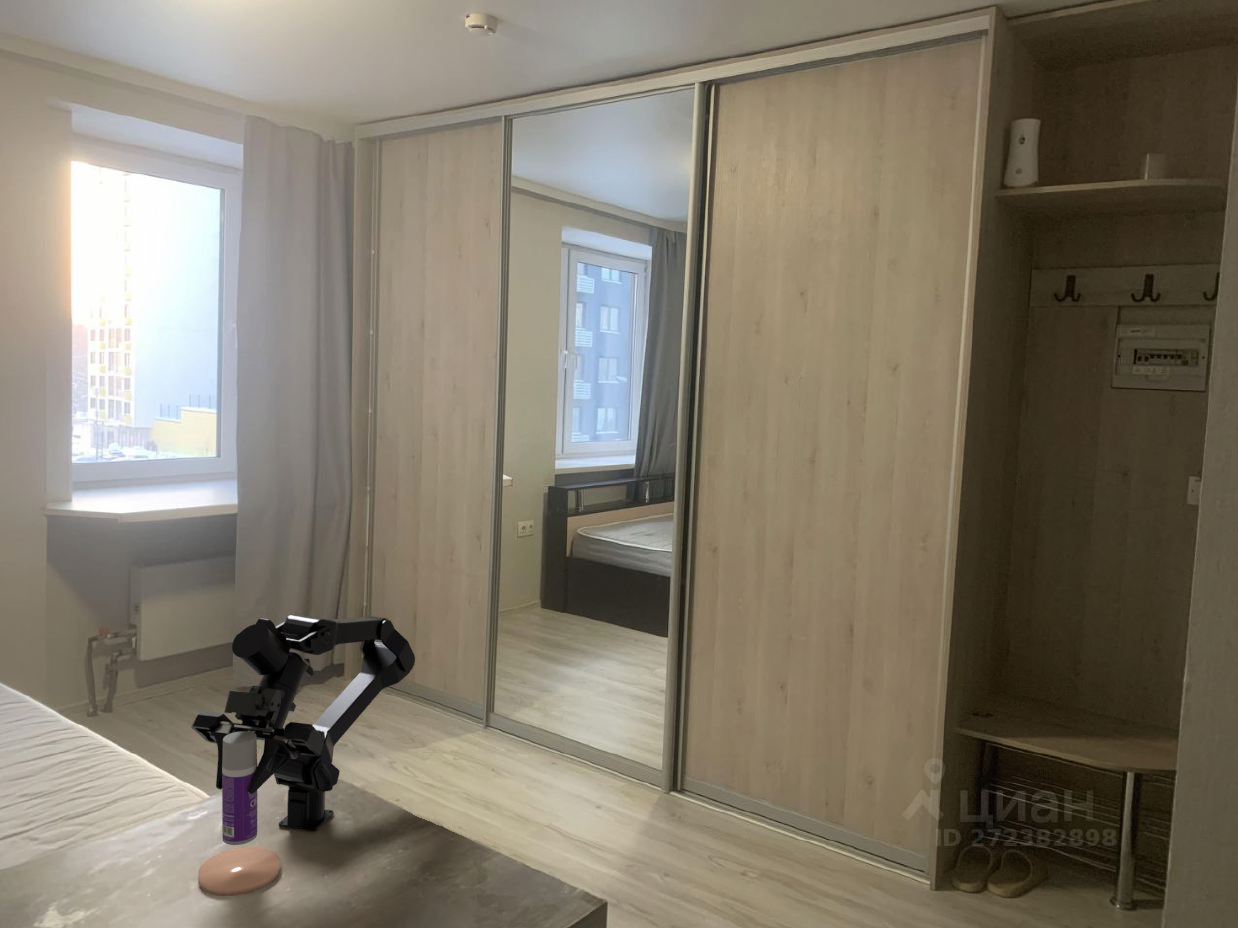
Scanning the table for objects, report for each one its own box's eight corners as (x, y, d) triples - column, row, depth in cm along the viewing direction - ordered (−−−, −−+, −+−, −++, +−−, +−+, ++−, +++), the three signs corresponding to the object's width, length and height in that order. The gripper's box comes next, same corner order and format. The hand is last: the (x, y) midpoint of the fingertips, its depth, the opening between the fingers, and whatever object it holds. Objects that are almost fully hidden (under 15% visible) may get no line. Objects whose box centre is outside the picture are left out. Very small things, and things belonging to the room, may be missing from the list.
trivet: (228, 850, 138) (228, 842, 138) (294, 859, 136) (294, 852, 136) (181, 889, 127) (181, 880, 127) (252, 900, 125) (252, 892, 125)
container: (257, 842, 130) (257, 741, 128) (221, 847, 128) (221, 745, 127) (257, 826, 134) (257, 729, 133) (223, 831, 133) (222, 732, 131)
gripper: (198, 658, 134) (147, 760, 125) (314, 671, 131) (271, 777, 121) (231, 692, 143) (185, 790, 133) (340, 704, 140) (302, 806, 130)
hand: (234, 790), depth 129 cm, fingers closed on container, 5 cm apart
